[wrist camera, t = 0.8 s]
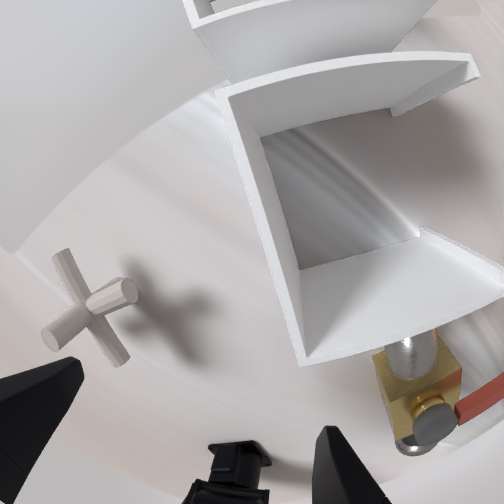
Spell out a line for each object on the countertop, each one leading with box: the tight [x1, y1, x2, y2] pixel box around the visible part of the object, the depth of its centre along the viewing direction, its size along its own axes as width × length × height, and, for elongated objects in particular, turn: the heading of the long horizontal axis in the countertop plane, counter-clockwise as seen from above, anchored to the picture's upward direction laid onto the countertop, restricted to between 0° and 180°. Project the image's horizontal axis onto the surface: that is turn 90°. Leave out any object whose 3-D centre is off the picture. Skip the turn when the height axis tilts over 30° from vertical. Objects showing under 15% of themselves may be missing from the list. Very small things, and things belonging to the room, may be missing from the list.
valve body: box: [372, 328, 462, 456], centre depth 18 cm, size 20×6×7 cm, turn 25°
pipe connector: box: [41, 248, 139, 368], centre depth 18 cm, size 10×10×10 cm
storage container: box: [182, 0, 504, 367], centre depth 12 cm, size 25×11×11 cm, turn 17°
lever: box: [412, 372, 504, 446], centre depth 13 cm, size 15×4×2 cm, turn 114°
